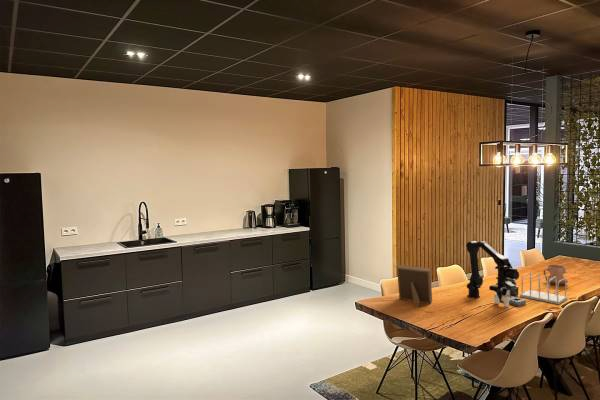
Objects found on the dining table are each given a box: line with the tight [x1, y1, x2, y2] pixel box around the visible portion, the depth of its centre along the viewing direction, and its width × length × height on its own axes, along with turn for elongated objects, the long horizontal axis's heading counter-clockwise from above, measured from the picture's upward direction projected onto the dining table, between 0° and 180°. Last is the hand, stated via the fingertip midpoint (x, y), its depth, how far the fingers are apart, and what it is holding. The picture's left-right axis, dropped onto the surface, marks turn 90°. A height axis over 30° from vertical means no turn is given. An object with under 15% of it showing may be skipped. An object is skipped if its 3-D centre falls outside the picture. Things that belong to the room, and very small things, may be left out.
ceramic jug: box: [542, 264, 570, 286], centre depth 346 cm, size 18×14×14 cm
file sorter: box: [519, 271, 568, 305], centre depth 311 cm, size 25×17×16 cm
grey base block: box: [500, 295, 527, 307], centre depth 302 cm, size 15×8×3 cm, turn 30°
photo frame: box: [396, 264, 433, 308], centre depth 303 cm, size 15×22×25 cm
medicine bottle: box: [506, 278, 519, 298], centre depth 318 cm, size 7×7×12 cm
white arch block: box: [493, 292, 510, 308], centre depth 297 cm, size 10×3×6 cm, turn 30°
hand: (501, 299), depth 297 cm, fingers closed on white arch block, 3 cm apart
